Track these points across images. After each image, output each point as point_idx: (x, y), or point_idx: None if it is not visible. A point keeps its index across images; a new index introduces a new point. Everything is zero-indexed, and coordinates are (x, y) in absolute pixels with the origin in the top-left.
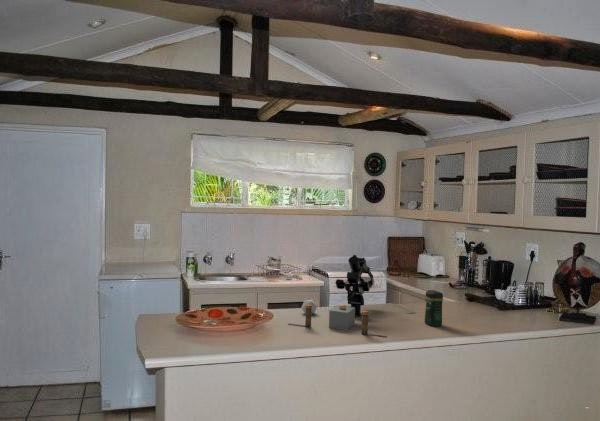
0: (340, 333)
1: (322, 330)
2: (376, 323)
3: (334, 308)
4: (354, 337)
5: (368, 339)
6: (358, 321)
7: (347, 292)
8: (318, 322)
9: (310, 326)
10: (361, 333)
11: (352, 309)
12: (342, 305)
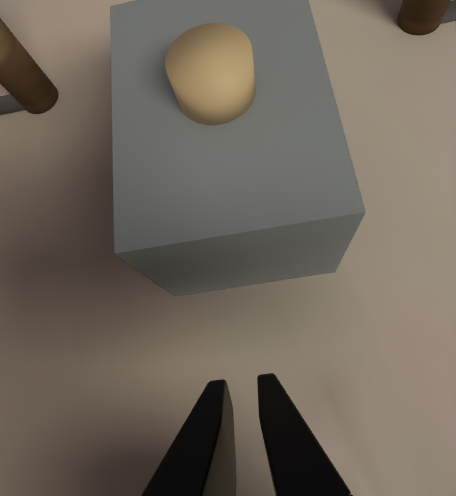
0: None
1: None
2: (11, 423)
3: (302, 56)
4: (77, 19)
5: None
6: (171, 396)
7: (325, 458)
8: (441, 152)
9: (399, 14)
10: (56, 89)
11: (113, 144)
12: (202, 42)
